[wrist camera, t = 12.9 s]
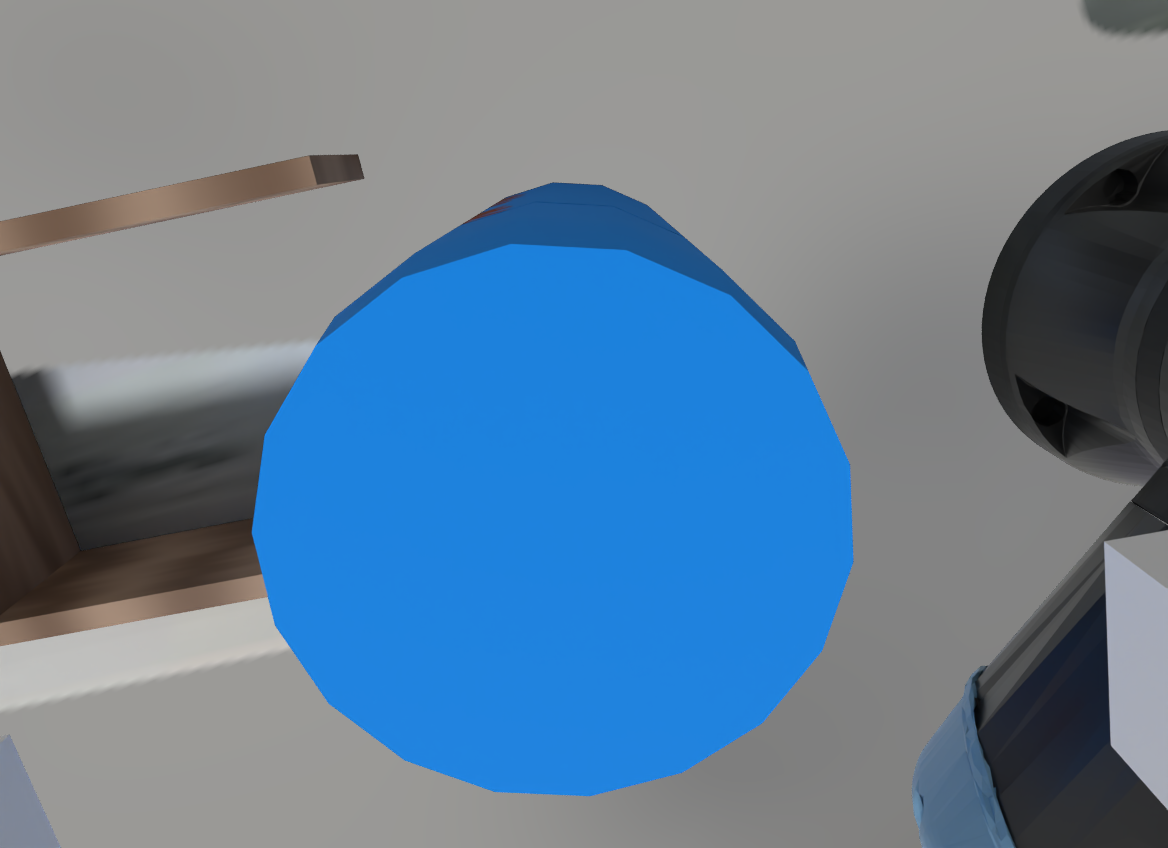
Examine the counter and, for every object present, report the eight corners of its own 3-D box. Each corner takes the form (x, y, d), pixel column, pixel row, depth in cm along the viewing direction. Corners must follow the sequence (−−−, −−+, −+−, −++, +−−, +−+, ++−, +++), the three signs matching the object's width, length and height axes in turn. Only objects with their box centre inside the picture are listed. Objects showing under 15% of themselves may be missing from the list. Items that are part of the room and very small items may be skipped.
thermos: (732, 359, 40) (954, 669, 16) (522, 461, 41) (440, 884, 18) (626, 132, 37) (704, 102, 13) (404, 250, 39) (115, 413, 15)
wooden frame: (357, 154, 37) (303, 155, 30) (449, 501, 42) (421, 574, 35) (-69, 245, 39) (-220, 267, 31) (66, 573, 43) (-39, 659, 36)
